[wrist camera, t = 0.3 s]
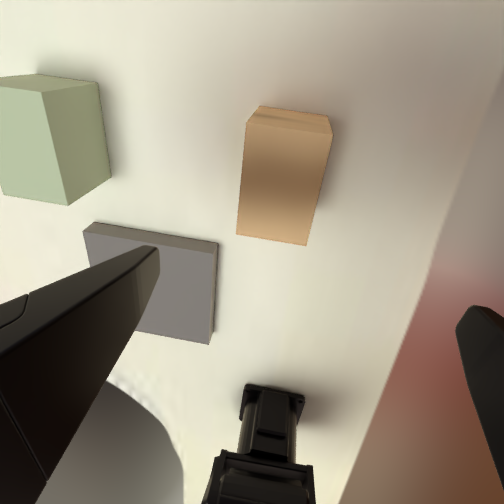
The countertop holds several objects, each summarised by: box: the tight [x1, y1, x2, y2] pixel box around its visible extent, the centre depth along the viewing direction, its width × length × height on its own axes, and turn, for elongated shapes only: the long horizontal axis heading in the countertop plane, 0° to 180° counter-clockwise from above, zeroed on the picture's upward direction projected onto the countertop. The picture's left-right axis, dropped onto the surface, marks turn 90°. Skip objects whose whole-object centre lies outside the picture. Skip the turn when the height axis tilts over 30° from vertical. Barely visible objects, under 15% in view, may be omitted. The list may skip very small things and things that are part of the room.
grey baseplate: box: [83, 222, 218, 345], centre depth 27 cm, size 10×10×2 cm
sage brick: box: [0, 74, 111, 206], centre depth 19 cm, size 6×4×5 cm, turn 174°
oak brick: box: [236, 106, 333, 246], centre depth 18 cm, size 6×4×5 cm, turn 174°
